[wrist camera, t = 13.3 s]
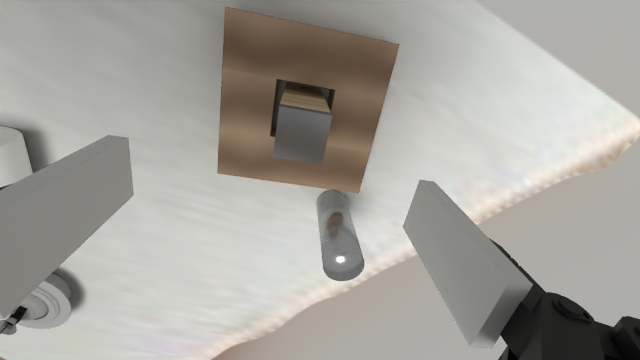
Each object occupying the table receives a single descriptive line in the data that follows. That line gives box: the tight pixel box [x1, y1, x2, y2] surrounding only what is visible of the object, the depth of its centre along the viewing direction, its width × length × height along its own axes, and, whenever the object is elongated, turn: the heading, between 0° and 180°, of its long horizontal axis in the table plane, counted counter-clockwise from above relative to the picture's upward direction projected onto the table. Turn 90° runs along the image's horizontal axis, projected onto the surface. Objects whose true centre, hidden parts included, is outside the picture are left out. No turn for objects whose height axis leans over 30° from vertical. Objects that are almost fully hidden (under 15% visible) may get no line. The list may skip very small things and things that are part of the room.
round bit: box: [317, 190, 364, 281], centre depth 34 cm, size 4×4×12 cm
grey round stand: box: [0, 273, 71, 335], centre depth 37 cm, size 12×10×10 cm
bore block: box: [217, 7, 400, 193], centre depth 32 cm, size 16×16×4 cm
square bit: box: [273, 85, 332, 164], centre depth 28 cm, size 4×4×12 cm
